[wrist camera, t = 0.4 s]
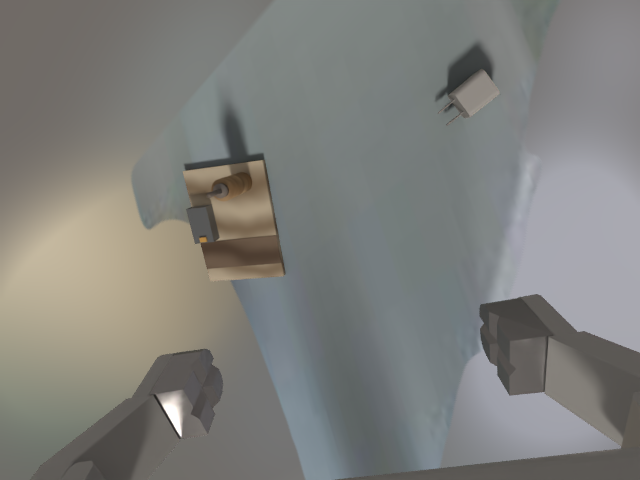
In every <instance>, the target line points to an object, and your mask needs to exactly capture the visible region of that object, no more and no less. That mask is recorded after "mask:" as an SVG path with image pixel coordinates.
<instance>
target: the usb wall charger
mask: <svg viewBox="0 0 640 480" xmlns="http://www.w3.org/2000/svg"><path fill="white" fill-rule="evenodd" d="M499 94H500V92H499V90H498V89H497V87H496V86H495V84H494V83H493V82H492V80H491V79H490V77H489V76H488V74H487V73H486V72H485V71H484V70H483V69H480V70H479V71H477V72H475V73H474V74H473V75H472V76H471V77H469V78H468V79H467V80H466V81H465V82H463V83H462V84H461V85H460V86H459V87H457V88H456V89H455V90H454V91H453V92H451V93H450V94H449V95H448V97H449V99H450V100H451V102H450V103H449V104H448V105H447V106H445V107H444V108H443V109H442V110H441V111H439V112H438V114H439V113H440V112H442V111H443V110H444V109H445V108H446V107H448V106H449V105H450V104H451V103H453V105H454V106H455V107H456V109H457V110H458V111H459V113H460V114H459V115H458V116H456V117H455V118H454V119H453V120H451V121H450V122H449V123H448V124H447V125H449V124H450V123H451V122H453V121H454V120H455V119H456V118H458V117H459V116H460V115H462V116H463V117H464V118H470V117H471V116H472V115H474V114H475V113H476V112H477V111H479V110H480V109H481V108H482V107H484V106H485V105H486V104H487V103H489V102H490V101H491V100H492V99H494V98H495V97H496V96H498V95H499Z"/></svg>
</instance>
